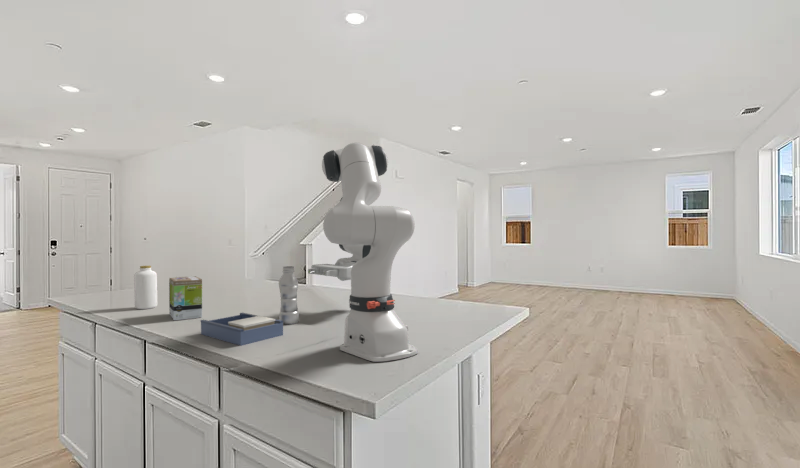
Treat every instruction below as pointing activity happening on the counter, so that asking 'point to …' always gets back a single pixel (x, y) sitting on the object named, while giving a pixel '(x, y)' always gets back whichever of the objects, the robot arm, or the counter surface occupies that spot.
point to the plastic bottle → (288, 296)
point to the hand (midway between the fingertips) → (316, 272)
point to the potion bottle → (145, 288)
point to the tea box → (185, 297)
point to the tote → (240, 330)
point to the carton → (252, 322)
